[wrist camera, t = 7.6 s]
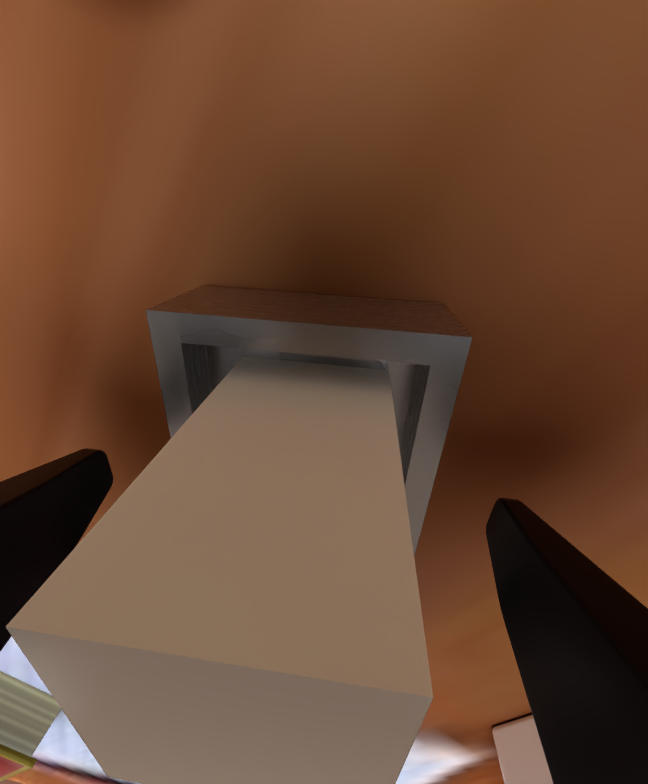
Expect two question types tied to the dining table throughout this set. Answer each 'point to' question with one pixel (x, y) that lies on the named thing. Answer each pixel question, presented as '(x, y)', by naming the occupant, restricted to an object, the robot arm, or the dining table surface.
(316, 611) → the beige rectangular block
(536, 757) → the jar
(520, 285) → the dining table surface
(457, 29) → the dining table surface
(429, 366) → the grey holder stand
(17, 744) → the hardcover book
